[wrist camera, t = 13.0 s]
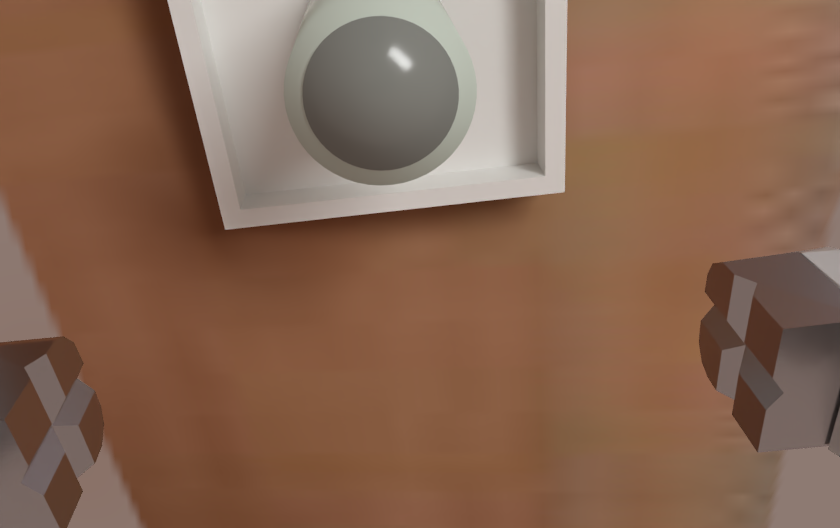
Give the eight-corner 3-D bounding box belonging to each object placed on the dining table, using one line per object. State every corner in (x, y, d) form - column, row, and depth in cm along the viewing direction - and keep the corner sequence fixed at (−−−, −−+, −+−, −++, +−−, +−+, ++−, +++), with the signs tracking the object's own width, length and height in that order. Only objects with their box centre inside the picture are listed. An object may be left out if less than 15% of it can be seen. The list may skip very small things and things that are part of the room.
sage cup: (294, -39, 26) (265, 8, 18) (437, -55, 26) (472, -16, 18) (318, 101, 28) (302, 196, 20) (448, 87, 28) (481, 176, 21)
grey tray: (145, -168, 24) (124, -170, 22) (551, -209, 25) (570, -215, 22) (234, 204, 31) (225, 229, 29) (550, 169, 32) (564, 192, 29)
